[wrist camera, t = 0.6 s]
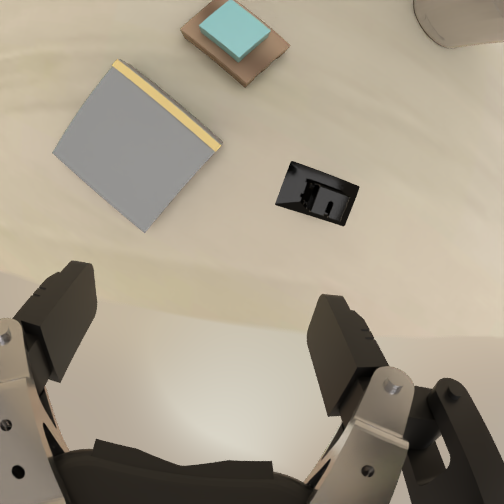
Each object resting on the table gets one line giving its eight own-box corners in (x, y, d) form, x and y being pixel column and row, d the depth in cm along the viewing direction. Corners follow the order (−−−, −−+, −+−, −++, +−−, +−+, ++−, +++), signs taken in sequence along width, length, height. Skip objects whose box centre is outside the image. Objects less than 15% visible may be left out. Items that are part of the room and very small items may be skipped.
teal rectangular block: (230, 7, 21) (230, -2, 19) (267, 37, 23) (270, 30, 21) (200, 32, 22) (198, 25, 20) (238, 62, 24) (239, 57, 22)
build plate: (258, 205, 35) (263, 218, 30) (279, 146, 32) (286, 149, 28) (351, 234, 37) (365, 249, 33) (372, 181, 34) (390, 190, 30)
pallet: (224, 3, 24) (224, -9, 21) (284, 52, 27) (290, 45, 24) (184, 37, 25) (180, 29, 22) (245, 87, 28) (247, 83, 25)
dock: (130, 65, 26) (117, 58, 22) (222, 142, 30) (221, 145, 27) (69, 148, 29) (50, 153, 25) (153, 220, 33) (143, 234, 30)
